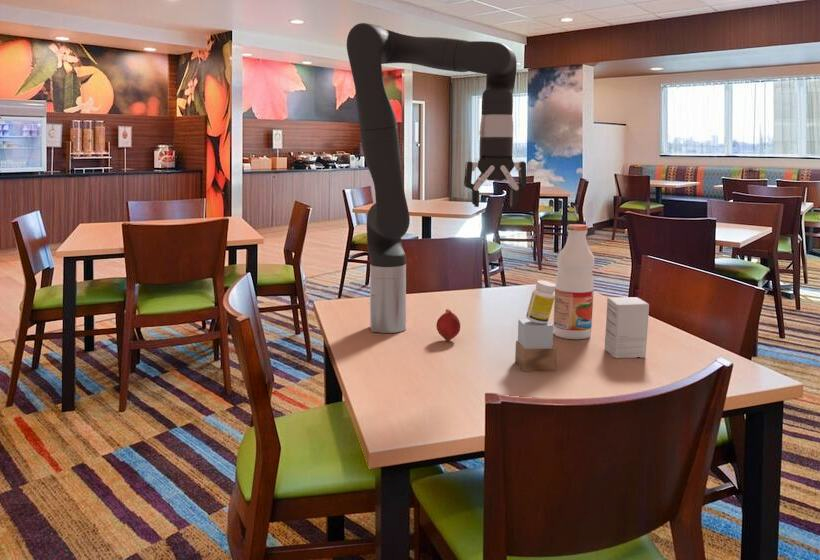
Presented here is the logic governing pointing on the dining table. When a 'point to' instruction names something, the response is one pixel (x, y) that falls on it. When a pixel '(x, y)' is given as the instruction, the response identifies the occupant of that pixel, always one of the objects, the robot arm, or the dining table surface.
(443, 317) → the onion
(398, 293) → the robot arm
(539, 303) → the supplement bottle
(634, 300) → the supplement box
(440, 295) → the dining table surface
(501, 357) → the dining table surface
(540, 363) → the bottom block
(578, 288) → the fruit juice
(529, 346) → the top block
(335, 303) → the dining table surface
